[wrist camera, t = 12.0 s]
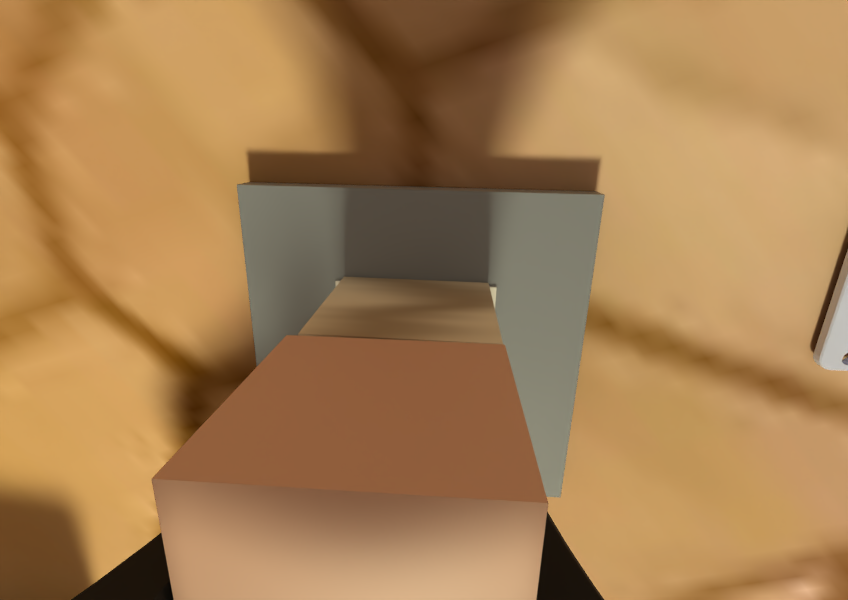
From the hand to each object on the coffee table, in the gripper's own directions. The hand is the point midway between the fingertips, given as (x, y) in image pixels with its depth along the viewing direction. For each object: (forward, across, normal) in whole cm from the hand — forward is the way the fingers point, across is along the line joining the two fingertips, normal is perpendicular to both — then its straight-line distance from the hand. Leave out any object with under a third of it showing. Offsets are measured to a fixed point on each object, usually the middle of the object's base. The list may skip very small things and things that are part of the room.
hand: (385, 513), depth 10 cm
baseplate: (+9, 0, 0) cm, 9 cm away
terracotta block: (+2, 0, -1) cm, 2 cm away
